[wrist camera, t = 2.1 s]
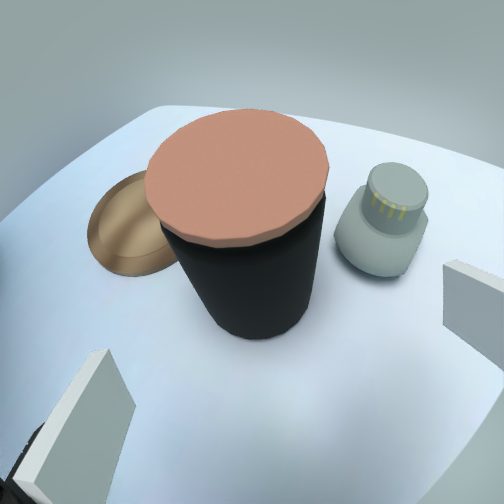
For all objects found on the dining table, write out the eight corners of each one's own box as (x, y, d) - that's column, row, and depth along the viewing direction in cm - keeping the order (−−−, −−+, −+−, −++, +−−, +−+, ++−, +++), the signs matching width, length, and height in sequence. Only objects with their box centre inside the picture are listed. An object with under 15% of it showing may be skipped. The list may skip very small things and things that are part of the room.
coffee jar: (236, 235, 37) (205, 98, 22) (325, 268, 34) (351, 129, 18) (188, 315, 32) (108, 203, 17) (284, 360, 29) (283, 273, 14)
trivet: (73, 264, 37) (68, 259, 36) (121, 172, 45) (118, 166, 44) (182, 288, 34) (179, 282, 33) (222, 177, 42) (220, 170, 41)
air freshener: (389, 299, 31) (423, 248, 23) (322, 261, 34) (332, 201, 26) (422, 227, 35) (451, 169, 27) (364, 196, 38) (379, 134, 30)
